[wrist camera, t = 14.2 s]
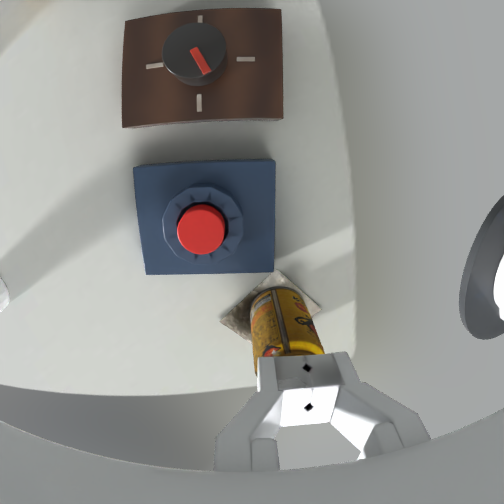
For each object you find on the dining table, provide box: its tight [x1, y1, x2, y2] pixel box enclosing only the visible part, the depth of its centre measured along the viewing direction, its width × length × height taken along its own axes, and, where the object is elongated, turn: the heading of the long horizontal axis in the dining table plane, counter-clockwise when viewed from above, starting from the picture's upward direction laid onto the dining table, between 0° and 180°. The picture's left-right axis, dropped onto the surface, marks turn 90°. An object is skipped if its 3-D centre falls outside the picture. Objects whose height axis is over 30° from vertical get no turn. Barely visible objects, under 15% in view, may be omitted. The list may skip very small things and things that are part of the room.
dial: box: [162, 23, 228, 86], centre depth 18 cm, size 4×4×4 cm
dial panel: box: [122, 8, 283, 128], centre depth 21 cm, size 13×10×3 cm
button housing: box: [133, 159, 276, 275], centre depth 25 cm, size 12×10×4 cm
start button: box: [177, 204, 225, 254], centre depth 23 cm, size 4×4×2 cm
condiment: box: [219, 269, 325, 376], centre depth 26 cm, size 7×8×12 cm
